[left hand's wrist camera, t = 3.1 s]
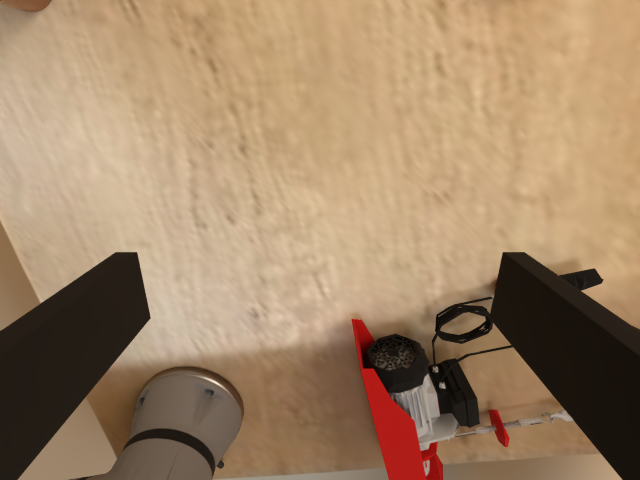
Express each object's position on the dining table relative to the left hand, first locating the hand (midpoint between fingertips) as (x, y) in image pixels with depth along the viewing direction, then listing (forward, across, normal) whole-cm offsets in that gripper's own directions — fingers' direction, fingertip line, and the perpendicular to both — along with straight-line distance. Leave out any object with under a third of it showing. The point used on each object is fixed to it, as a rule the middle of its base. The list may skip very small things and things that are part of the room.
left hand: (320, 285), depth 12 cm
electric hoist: (+28, +22, -28) cm, 45 cm away
